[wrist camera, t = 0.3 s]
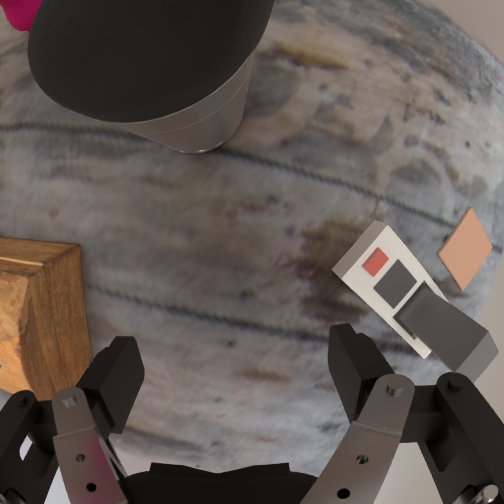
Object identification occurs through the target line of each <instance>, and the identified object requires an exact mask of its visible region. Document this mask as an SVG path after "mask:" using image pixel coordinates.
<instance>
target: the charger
mask: <svg viewBox="0 0 504 504" xmlns="http://www.w3.org/2000/svg"><path fill="white" fill-rule="evenodd" d="M395 315H396V316H397V317H398V318H399V319H400V320H401V321H402V322H403V323H404V324H405V325H406V326H407V327H408V328H409V330H410V331H411V332H412V333H413V334H414V335H415V336H417V337H418V338H419V339H420V340H421V341H422V342H423V343H424V344H425V345H426V346H427V347H428V348H429V349H430V350H431V351H432V352H433V353H434V354H435V355H436V356H437V357H438V358H439V359H440V360H441V361H442V362H443V363H444V364H445V365H446V366H447V367H448V368H449V369H450V370H451V371H452V372H457V373H461V374H463V375H465V376H467V377H468V378H469V379H470V380H471V382H472V383H474V382H475V381H476V380H477V379H478V377H479V376H480V375H481V374H482V373H483V372H484V370H485V369H486V368H487V367H488V366H489V364H490V363H491V362H492V361H493V359H494V358H495V357H496V355H497V354H498V352H499V351H498V349H497V347H496V345H495V343H494V341H493V339H492V337H491V335H490V333H489V331H488V330H486V329H485V328H484V327H482V326H481V325H480V324H478V323H477V322H475V321H474V320H473V319H471V318H470V317H468V316H467V315H466V314H464V313H463V312H461V311H460V310H458V309H457V308H456V307H454V306H453V305H451V304H450V303H448V302H447V301H445V300H444V299H442V298H441V297H439V296H438V295H436V294H435V293H433V292H432V291H430V290H429V289H427V288H426V287H424V286H423V285H420V286H419V287H418V288H417V290H416V291H415V292H414V293H413V294H412V296H411V297H410V298H409V299H408V300H407V301H406V303H405V304H404V305H403V306H402V307H401V308H400V309H399V311H398V312H397V313H396V314H395Z"/></svg>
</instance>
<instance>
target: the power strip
mask: <svg viewBox="0 0 504 504" xmlns="http://www.w3.org/2000/svg"><path fill="white" fill-rule="evenodd" d="M331 270H332V271H333V272H334V273H335V274H336V275H337V276H338V277H339V278H340V279H341V280H343V281H344V282H345V283H346V284H347V285H348V286H349V287H350V288H351V289H352V290H353V291H354V292H355V293H357V294H358V295H359V296H360V297H361V298H362V299H363V300H364V301H365V302H366V303H367V304H368V305H369V306H370V307H371V308H372V309H374V310H375V311H376V312H377V313H378V314H379V315H380V316H381V317H382V318H383V319H384V320H385V321H386V322H387V323H388V324H389V325H390V326H391V327H392V328H393V329H394V330H395V331H396V332H397V333H398V334H399V335H401V336H402V337H403V338H404V339H405V340H406V341H407V342H408V343H409V344H410V345H411V346H412V347H413V348H414V349H415V350H416V351H417V352H418V353H419V354H420V355H421V356H422V357H423V358H424V359H425V358H426V357H427V356H428V355H429V354H430V353H431V352H432V351H431V350H430V349H429V348H428V347H427V346H426V345H425V344H424V343H423V342H422V341H421V340H420V339H419V338H418V337H417V336H415V335H414V334H413V333H412V332H411V331H410V330H409V328H408V327H407V326H406V325H405V324H404V323H403V322H402V321H401V320H400V319H399V318H398V317H397V316H396V315H395V314H396V313H397V312H398V311H399V309H400V308H401V307H402V306H403V305H404V304H405V303H406V301H407V300H408V299H409V298H410V297H411V296H412V294H413V293H414V292H415V291H416V290H417V288H418V287H419V286H420V285H423V286H424V287H426V288H427V289H429V290H430V291H432V292H433V293H435V294H436V295H438V296H439V297H441V298H442V299H444V300H445V301H447V299H446V298H445V297H444V295H443V294H442V292H441V291H440V290H439V288H438V287H437V286H436V284H435V283H434V282H433V280H432V279H431V278H430V276H429V275H428V274H427V272H426V271H425V270H424V268H423V267H422V266H421V265H420V263H419V262H418V261H417V259H416V258H415V257H414V256H413V254H412V253H411V252H410V251H409V249H408V248H407V247H406V246H405V245H404V243H403V242H402V241H401V240H400V239H399V237H398V236H397V235H396V234H395V233H394V232H393V230H392V229H391V228H390V227H389V226H388V225H387V224H384V223H382V222H379V221H376V220H374V221H373V222H372V223H371V224H370V226H369V227H368V228H367V229H366V230H365V231H364V233H363V234H362V235H361V236H360V237H359V239H358V240H357V241H356V242H355V243H354V244H353V246H352V247H351V248H350V249H349V250H348V251H347V252H346V254H345V255H344V256H343V257H342V258H341V259H340V260H339V261H338V263H337V264H336V265H335V266H334V267H333V268H332V269H331ZM447 302H448V301H447ZM448 303H449V302H448Z"/></svg>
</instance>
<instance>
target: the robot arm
mask: <svg viewBox="0 0 504 504" xmlns="http://www.w3.org/2000/svg"><path fill="white" fill-rule="evenodd" d="M273 4H274V0H42V1H41V3H40V5H39V7H38V9H37V11H36V13H35V16H34V19H33V22H32V25H31V29H30V33H29V40H28V59H29V65H30V68H31V72H32V74H33V76H34V79H35V81H36V82H37V84H38V85H39V87H40V88H41V89H42V90H43V91H44V92H45V93H46V94H47V95H48V96H49V97H50V98H51V99H52V100H54V101H55V102H57V103H59V104H60V105H62V106H64V107H66V108H68V109H70V110H72V111H75V112H77V113H80V114H83V115H86V116H88V117H91V118H94V119H98V120H100V121H103V122H105V123H108V124H111V125H113V126H116V127H118V128H121V129H124V130H127V131H129V132H132V133H134V134H137V135H139V136H142V137H144V138H146V139H149V140H151V141H154V142H156V143H158V144H161V145H163V146H166V147H168V148H170V149H173V150H175V151H177V152H181V153H188V154H198V153H205V152H208V151H212V150H214V149H216V148H218V147H220V146H222V145H223V144H224V143H226V142H227V141H228V140H229V139H230V138H231V137H232V136H233V135H234V134H235V133H236V131H237V129H238V128H239V126H240V124H241V122H242V118H243V115H244V110H245V105H246V100H247V94H248V89H249V83H250V78H251V73H252V67H253V62H254V57H255V52H256V46H257V45H258V43H259V41H260V40H261V37H262V35H263V33H264V31H265V28H266V26H267V23H268V20H269V17H270V14H271V10H272V7H273ZM328 366H329V371H330V373H331V376H332V378H333V381H334V383H335V386H336V388H337V391H338V393H339V396H340V399H341V401H342V404H343V406H344V409H345V412H346V414H347V417H348V419H349V422H350V427H349V429H348V430H347V432H346V434H345V436H344V437H343V439H342V441H341V442H340V444H339V446H338V448H337V449H336V451H335V452H334V454H333V456H332V457H331V459H330V460H329V462H328V464H327V465H326V467H325V468H324V470H323V471H322V473H321V474H320V476H319V477H315V476H313V475H309V474H305V473H300V472H292V471H290V468H289V463H280V464H269V465H254V466H250V467H246V468H241V469H237V470H233V471H228V472H223V473H212V472H208V471H204V470H199V469H195V468H192V467H188V466H184V465H173V464H162V463H153V462H152V463H151V467H150V470H149V471H145V472H140V473H136V474H132V475H130V476H128V475H127V473H126V472H125V470H124V468H123V466H122V464H121V462H120V460H119V458H118V456H117V454H116V451H115V449H114V447H113V445H112V443H111V441H110V439H109V438H108V437H109V435H110V432H111V433H117V434H122V431H123V429H124V426H125V424H126V421H127V419H128V416H129V414H130V411H131V409H132V406H133V404H134V402H135V399H136V397H137V394H138V392H139V390H140V387H141V385H142V383H143V380H144V374H145V372H144V366H143V362H142V359H141V356H140V353H139V349H138V346H137V343H136V340H135V338H134V337H132V336H116V337H115V338H114V340H113V341H112V343H111V344H110V346H109V347H106V348H104V349H103V350H102V351H100V352H99V353H98V354H97V355H96V357H95V358H94V359H93V362H91V364H90V365H89V368H87V370H86V371H85V372H84V374H83V375H82V377H81V378H80V380H79V381H78V383H77V384H76V386H75V387H67V388H64V389H62V390H60V391H58V392H57V393H56V394H55V395H54V397H53V399H52V400H44V401H38V399H37V397H36V396H35V394H34V393H33V392H32V391H30V390H21V391H18V392H16V393H15V394H13V395H12V396H11V397H10V398H9V400H8V401H7V402H6V404H5V405H4V407H3V408H2V409H1V411H0V504H44V502H45V499H46V497H47V494H48V491H49V489H50V486H51V484H52V481H53V479H54V476H55V474H56V471H57V469H58V466H59V467H60V471H61V474H62V478H63V481H64V484H65V488H66V491H67V494H68V497H69V500H70V503H71V504H373V502H374V501H375V499H376V497H377V494H378V492H379V490H380V488H381V486H382V483H383V482H384V479H385V477H386V475H387V473H388V470H389V468H390V465H391V463H392V460H393V458H394V455H395V453H396V450H397V448H398V445H399V443H409V442H417V443H418V445H419V447H420V450H421V452H422V454H423V456H424V459H425V461H426V463H427V466H428V468H429V470H430V473H431V475H432V477H433V480H434V482H435V484H436V487H437V489H438V492H439V494H440V497H441V499H442V501H443V504H504V424H503V422H502V421H501V420H500V418H499V417H498V416H497V414H496V413H495V411H494V410H493V409H492V408H491V406H490V405H489V403H488V402H487V401H486V399H485V398H484V397H483V396H482V394H481V393H480V392H479V391H478V389H477V388H476V387H475V386H474V384H473V383H472V382H471V380H470V379H469V378H468V377H467V376H465V375H463V374H461V373H457V372H448V373H445V374H443V375H441V376H440V377H439V378H438V380H437V383H436V385H427V386H416V385H414V383H413V382H412V380H411V379H409V378H408V377H406V376H404V375H400V374H395V373H394V371H393V370H392V368H391V367H390V365H389V364H388V362H387V361H386V359H385V358H384V356H383V355H382V354H381V352H380V350H379V349H378V348H377V346H376V345H375V343H374V342H373V340H372V339H371V338H369V337H368V336H366V335H365V334H363V333H359V334H356V333H355V331H354V330H353V328H352V326H351V325H350V324H349V323H345V324H338V325H331V326H330V331H329V347H328ZM26 436H28V437H29V438H30V440H31V441H32V442H33V443H32V444H31V446H30V448H29V450H28V452H27V454H26V456H25V458H24V460H22V459H21V457H20V452H19V451H20V447H21V445H22V443H23V442H24V439H25V438H26Z"/></svg>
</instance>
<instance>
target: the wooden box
mask: <svg viewBox="0 0 504 504" xmlns="http://www.w3.org/2000/svg"><path fill="white" fill-rule="evenodd" d="M91 357H92V353H91V347H90V341H89V334H88V326H87V319H86V311H85V302H84V294H83V281H82V269H81V246H80V245H79V244H75V243H63V242H50V241H37V240H28V239H18V238H6V237H0V388H1V389H3V390H5V391H7V392H9V393H11V394H15V393H16V392H18V391H21V390H30V391H32V392H33V393H34V394H35V396H36V397H37V399H38V401H44V400H52V399H53V397H54V395H55V394H56V393H57V392H58V391H60V390H62V389H64V388H67V387H74V386H75V385H76V383H77V381H78V380H79V378H80V377H81V375H82V373H83V372H84V370H85V368H86V366H87V364H88V363H89V361H90V359H91Z"/></svg>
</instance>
